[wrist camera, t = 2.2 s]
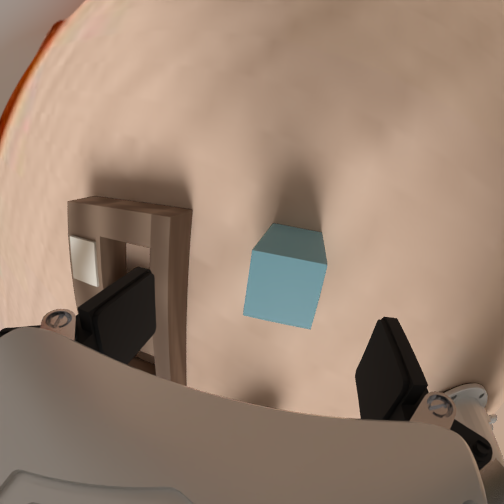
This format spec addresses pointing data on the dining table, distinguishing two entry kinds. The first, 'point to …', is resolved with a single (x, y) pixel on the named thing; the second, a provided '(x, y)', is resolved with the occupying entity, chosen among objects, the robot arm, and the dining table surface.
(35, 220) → the dining table surface
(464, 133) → the dining table surface
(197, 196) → the dining table surface
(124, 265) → the socket block
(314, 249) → the plug
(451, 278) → the dining table surface
